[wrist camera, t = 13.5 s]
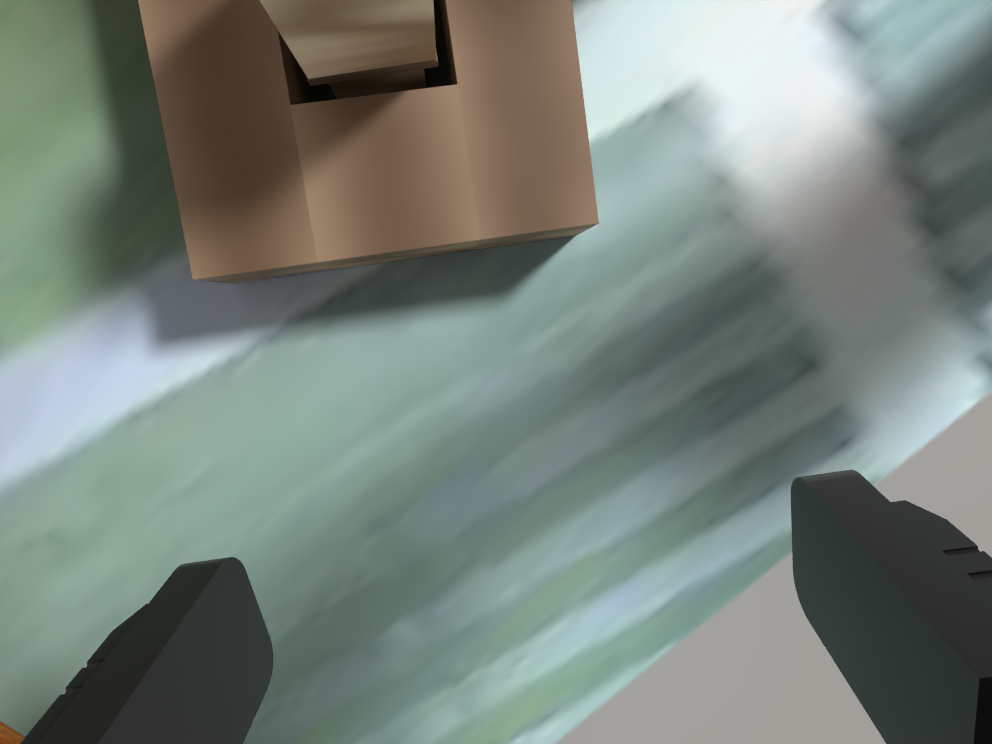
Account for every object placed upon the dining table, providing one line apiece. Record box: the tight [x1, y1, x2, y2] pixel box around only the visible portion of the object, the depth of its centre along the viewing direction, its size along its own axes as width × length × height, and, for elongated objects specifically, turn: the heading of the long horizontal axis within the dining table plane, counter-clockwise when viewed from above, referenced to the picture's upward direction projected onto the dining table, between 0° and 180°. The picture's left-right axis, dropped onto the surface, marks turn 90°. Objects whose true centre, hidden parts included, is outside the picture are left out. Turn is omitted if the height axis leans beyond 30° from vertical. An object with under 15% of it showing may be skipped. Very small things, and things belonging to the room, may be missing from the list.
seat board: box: [138, 0, 599, 284], centre depth 23 cm, size 14×16×4 cm
